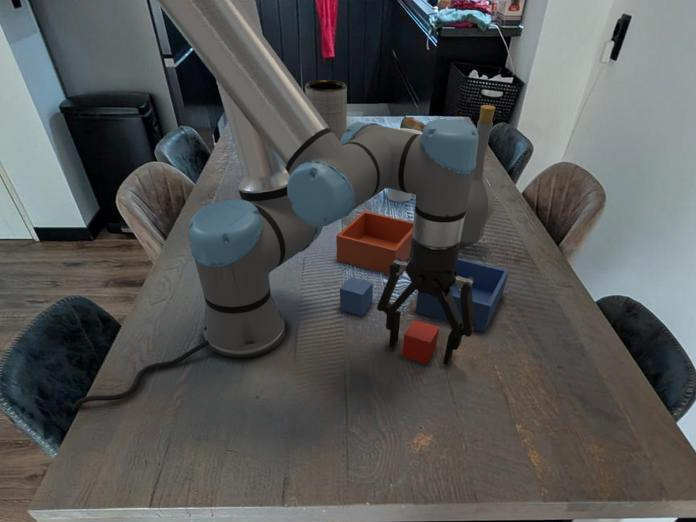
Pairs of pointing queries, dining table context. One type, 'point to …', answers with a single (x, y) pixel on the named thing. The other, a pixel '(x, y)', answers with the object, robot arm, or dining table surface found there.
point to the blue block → (356, 296)
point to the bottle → (479, 185)
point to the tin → (412, 124)
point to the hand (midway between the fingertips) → (420, 351)
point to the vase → (330, 103)
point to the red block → (420, 341)
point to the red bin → (374, 241)
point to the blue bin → (483, 293)
